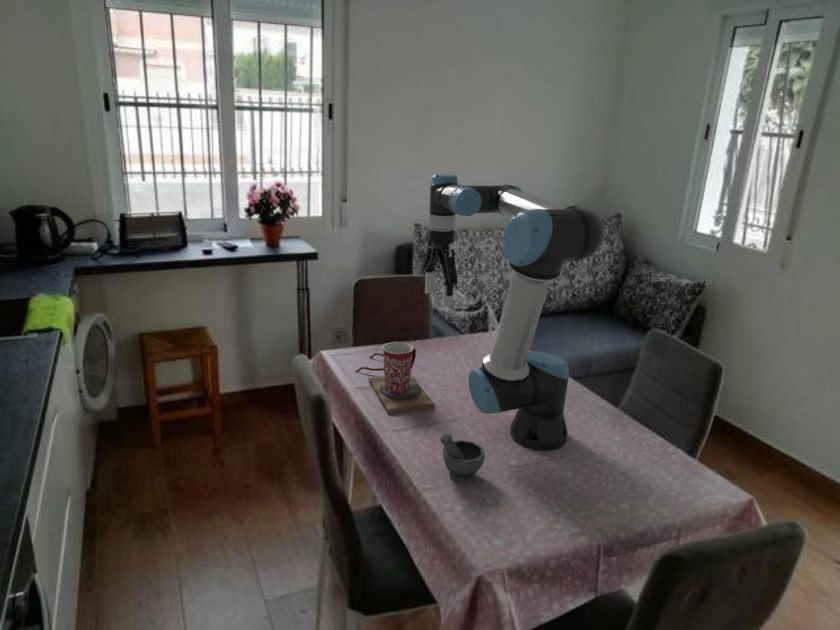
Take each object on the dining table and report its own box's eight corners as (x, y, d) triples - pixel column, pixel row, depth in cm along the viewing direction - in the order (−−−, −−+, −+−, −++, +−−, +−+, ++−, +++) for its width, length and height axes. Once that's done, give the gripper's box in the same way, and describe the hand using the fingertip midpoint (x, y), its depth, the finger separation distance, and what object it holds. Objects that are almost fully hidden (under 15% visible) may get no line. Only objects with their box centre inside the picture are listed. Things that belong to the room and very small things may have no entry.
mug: (398, 398, 176) (400, 355, 171) (375, 389, 181) (376, 347, 176) (425, 385, 185) (427, 344, 181) (402, 376, 190) (404, 336, 186)
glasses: (391, 379, 195) (392, 365, 193) (354, 373, 198) (354, 359, 197) (404, 364, 207) (405, 351, 205) (369, 358, 210) (369, 345, 209)
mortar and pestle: (470, 461, 150) (474, 418, 146) (489, 482, 142) (494, 437, 138) (429, 470, 146) (432, 426, 142) (447, 492, 138) (450, 446, 134)
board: (433, 408, 176) (434, 400, 175) (387, 414, 172) (387, 406, 171) (410, 377, 196) (410, 370, 195) (368, 381, 191) (368, 374, 190)
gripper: (472, 236, 165) (467, 310, 172) (436, 221, 187) (433, 287, 194) (447, 237, 162) (443, 312, 169) (414, 221, 184) (411, 288, 191)
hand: (438, 299), depth 181 cm, fingers open, 13 cm apart
